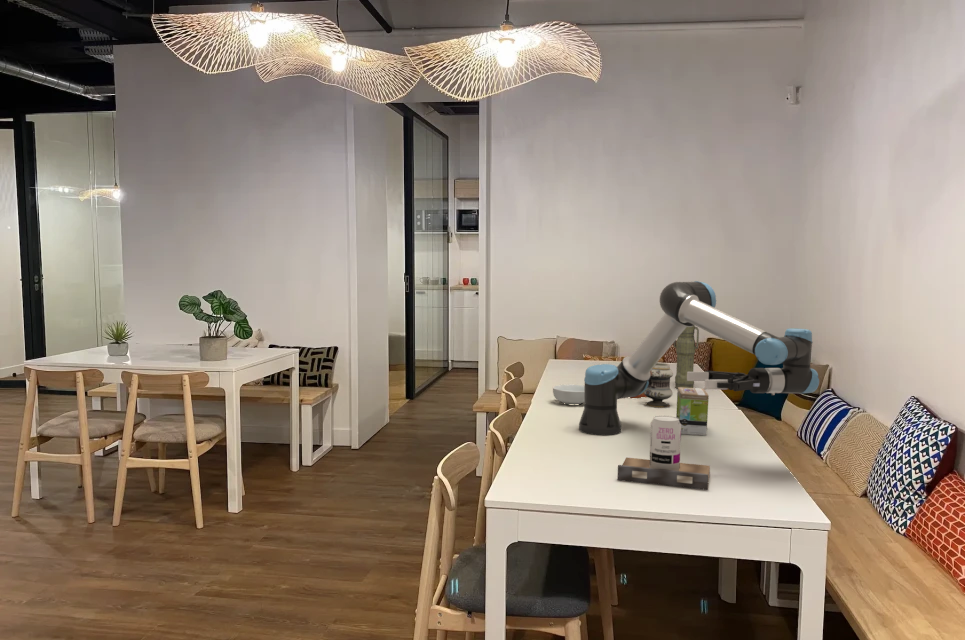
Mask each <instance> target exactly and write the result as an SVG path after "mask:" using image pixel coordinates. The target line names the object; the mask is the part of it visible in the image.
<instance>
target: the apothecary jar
mask: <svg viewBox="0 0 965 640" xmlns="http://www.w3.org/2000/svg"><path fill="white" fill-rule="evenodd" d="M673 376H674V372H673V370H672V369H671V368H670V364H669V363H665V362H657V363H656V364H655V366H654V367H653V368H652V369H651V370H650V378H649V380H648V382H649V384H648V387H647V389H646V390H645V391H644V394H645V396H647V397H646V398H648V399H651V401H647V402H646V403H645V406H647V407H651V408H658V409H659V408H661V409H662V408H668V407H670V404H668V403H667V401H666V402H665V401H664V400H668V399H670V398H671V397H672V396H673V393H674V392H673V390H672V389H671V378H672V377H673Z"/></svg>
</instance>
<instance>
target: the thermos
mask: <svg viewBox="0 0 965 640" xmlns="http://www.w3.org/2000/svg"><path fill="white" fill-rule="evenodd" d="M695 330H696V340H695ZM699 332H700V329H699V327H697V326H695V325H694V326H692V327H686V328H685V329H684V331H683V332H682V333H681V334H680V335H679V337H678V338H677V339H676V340H675V341H674V343H673V344H672V345H673V347H674V348H675V352H676V372H675V377H674V385H675V387H674V389H675V388H676V390H678V387H684V388H694V387H695V386H694V385H695V381H687V372H694V366H695V365H694V362H695V361H694V360H695V354H696V350H697V349H699V341H700V340H699V339H700V337H699V335H700V333H699Z"/></svg>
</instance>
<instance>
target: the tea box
mask: <svg viewBox="0 0 965 640" xmlns="http://www.w3.org/2000/svg"><path fill="white" fill-rule="evenodd" d="M676 392H677V393H676V395H677V397H676V398H677V399H676V416H675V417H676V418H678V419H679V421H680V423H681V435H693V436H707V433H708V432H707V431H708V418H709V417H708V415H709V414H708V413H709V396H710V395H709V394H708V392H707V391H706V389H705V388H698V387H693V388H684V387H678V389H677V391H676Z"/></svg>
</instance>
